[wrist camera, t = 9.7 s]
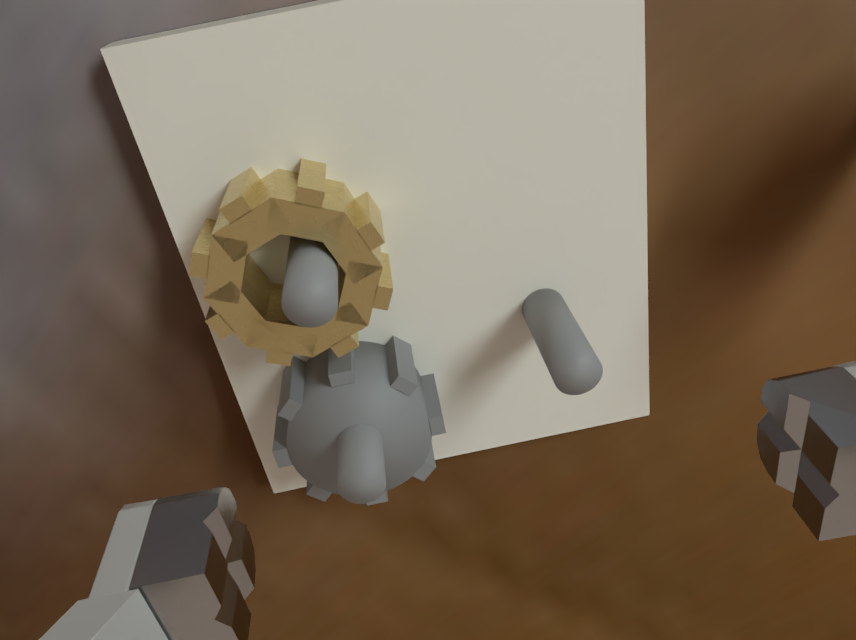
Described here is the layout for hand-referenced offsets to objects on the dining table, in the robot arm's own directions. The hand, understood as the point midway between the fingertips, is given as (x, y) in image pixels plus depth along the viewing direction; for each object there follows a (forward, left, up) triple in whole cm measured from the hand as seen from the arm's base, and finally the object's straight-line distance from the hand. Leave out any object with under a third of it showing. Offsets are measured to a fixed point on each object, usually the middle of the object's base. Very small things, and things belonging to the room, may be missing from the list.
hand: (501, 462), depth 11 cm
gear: (+3, -5, -17) cm, 18 cm away
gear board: (+5, 0, -19) cm, 19 cm away
